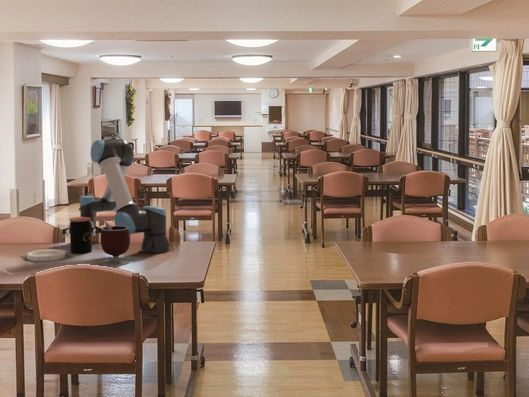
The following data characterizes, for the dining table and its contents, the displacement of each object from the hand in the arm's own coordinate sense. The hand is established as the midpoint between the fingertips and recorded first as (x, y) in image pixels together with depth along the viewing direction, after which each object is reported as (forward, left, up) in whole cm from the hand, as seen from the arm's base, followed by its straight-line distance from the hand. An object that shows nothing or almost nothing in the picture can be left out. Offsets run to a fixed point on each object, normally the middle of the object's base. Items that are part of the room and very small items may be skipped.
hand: (80, 233), depth 376 cm
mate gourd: (-34, -3, -10) cm, 36 cm away
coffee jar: (-1, 0, -10) cm, 10 cm away
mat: (-3, +19, -10) cm, 22 cm away
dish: (-3, +19, -9) cm, 21 cm away
